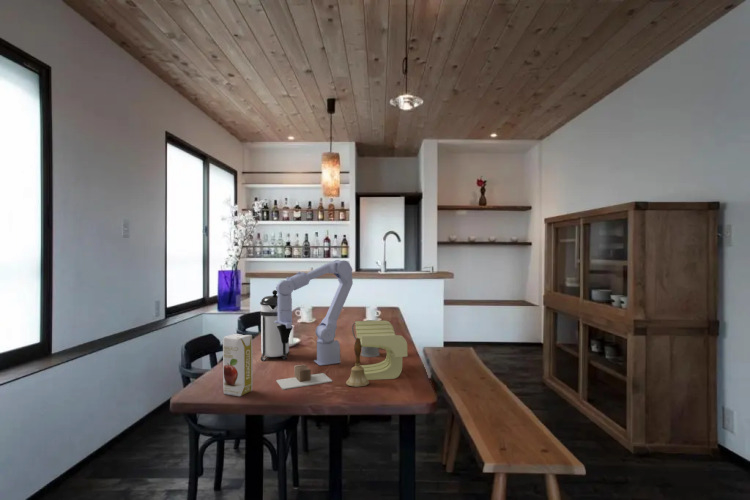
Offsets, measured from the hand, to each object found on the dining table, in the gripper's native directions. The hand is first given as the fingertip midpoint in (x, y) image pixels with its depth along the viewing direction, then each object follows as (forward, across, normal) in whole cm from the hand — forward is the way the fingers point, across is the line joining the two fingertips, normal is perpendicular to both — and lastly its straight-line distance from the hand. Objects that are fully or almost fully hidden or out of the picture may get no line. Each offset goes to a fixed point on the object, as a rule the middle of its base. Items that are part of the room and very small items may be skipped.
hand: (284, 343), depth 161 cm
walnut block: (+8, +15, +2) cm, 17 cm away
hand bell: (+10, +31, +18) cm, 38 cm away
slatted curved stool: (+10, +25, +30) cm, 41 cm away
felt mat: (+10, +20, +2) cm, 23 cm away
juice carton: (+10, +21, -21) cm, 31 cm away
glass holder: (+10, -4, +38) cm, 40 cm away
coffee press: (+10, -19, 0) cm, 22 cm away
